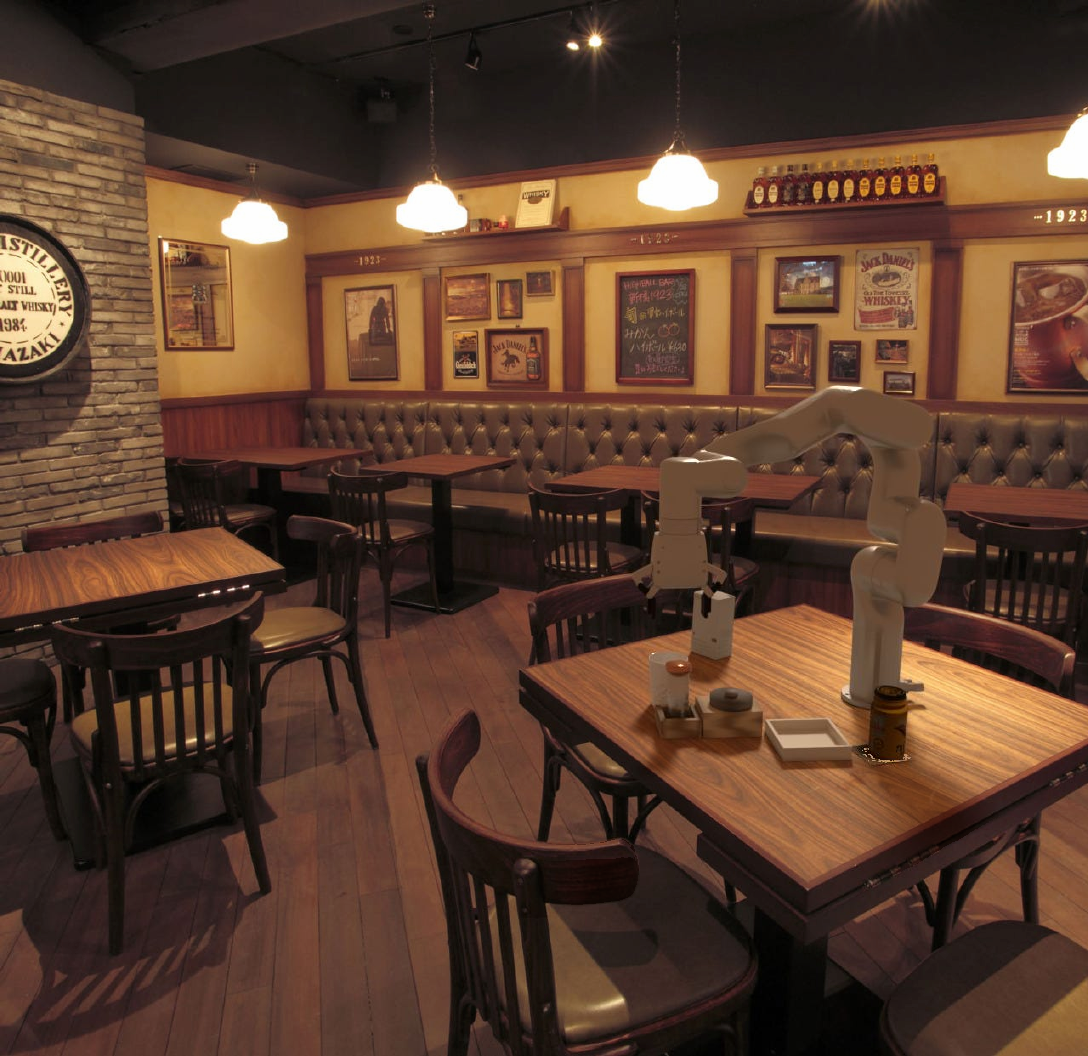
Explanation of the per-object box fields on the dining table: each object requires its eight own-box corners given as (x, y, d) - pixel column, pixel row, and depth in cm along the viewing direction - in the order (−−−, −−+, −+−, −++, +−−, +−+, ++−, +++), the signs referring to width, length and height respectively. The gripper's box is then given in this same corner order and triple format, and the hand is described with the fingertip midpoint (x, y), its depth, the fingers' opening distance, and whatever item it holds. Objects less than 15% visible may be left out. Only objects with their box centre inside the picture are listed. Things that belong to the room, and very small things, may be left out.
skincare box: (690, 651, 207) (691, 591, 204) (707, 646, 210) (708, 587, 207) (716, 661, 200) (718, 599, 197) (734, 655, 204) (735, 594, 201)
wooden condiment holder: (751, 718, 169) (752, 682, 167) (762, 736, 161) (763, 699, 160) (654, 721, 169) (655, 685, 167) (661, 739, 161) (661, 701, 159)
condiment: (915, 760, 151) (920, 695, 148) (871, 766, 149) (875, 700, 147) (889, 742, 158) (894, 680, 155) (848, 748, 156) (851, 685, 154)
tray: (828, 730, 163) (828, 717, 163) (851, 759, 151) (852, 746, 151) (764, 731, 163) (765, 719, 162) (782, 761, 151) (783, 748, 151)
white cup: (686, 713, 172) (687, 665, 170) (646, 711, 173) (647, 663, 171) (688, 698, 179) (689, 652, 177) (650, 695, 181) (650, 650, 179)
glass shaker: (688, 723, 167) (689, 659, 164) (692, 734, 162) (693, 668, 160) (663, 724, 167) (663, 660, 164) (667, 735, 162) (667, 669, 160)
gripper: (723, 521, 161) (720, 610, 164) (629, 522, 161) (629, 611, 164) (732, 529, 153) (729, 622, 157) (634, 531, 153) (634, 624, 157)
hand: (678, 616), depth 160 cm, fingers open, 9 cm apart
